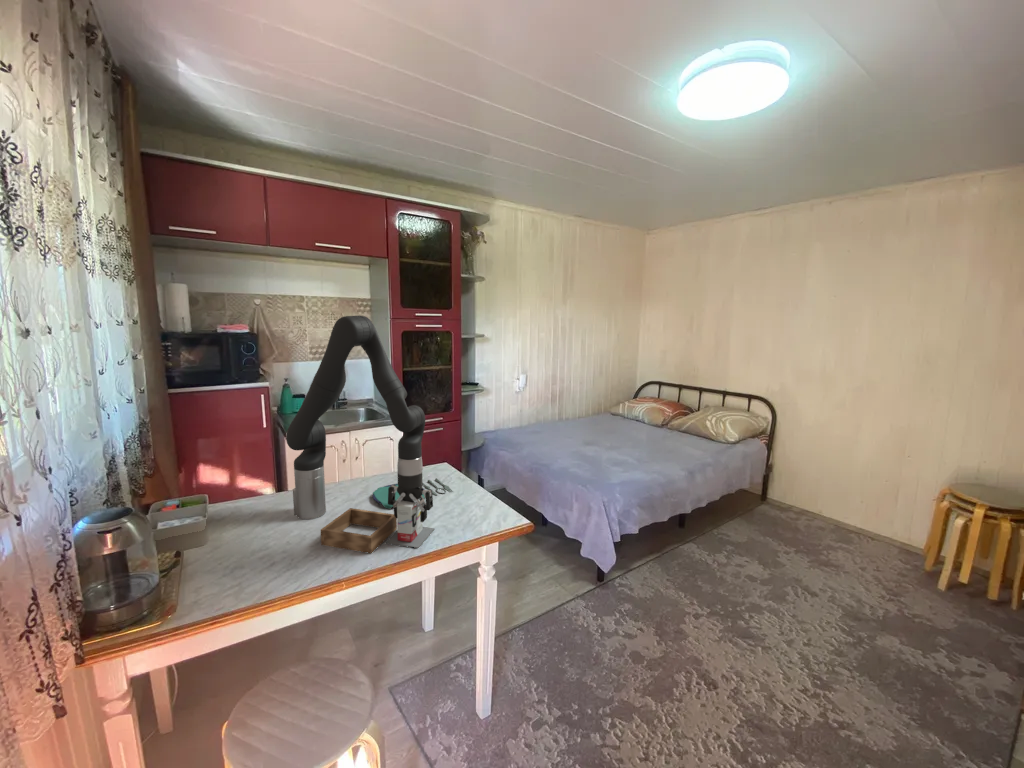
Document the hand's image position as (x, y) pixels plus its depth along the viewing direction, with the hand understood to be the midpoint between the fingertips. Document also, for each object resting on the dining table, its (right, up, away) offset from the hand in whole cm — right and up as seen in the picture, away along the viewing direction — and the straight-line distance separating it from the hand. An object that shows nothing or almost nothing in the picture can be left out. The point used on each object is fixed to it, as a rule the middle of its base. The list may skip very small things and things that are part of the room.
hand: (410, 519), depth 132 cm
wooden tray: (-16, -5, 0) cm, 17 cm away
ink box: (0, -5, +1) cm, 6 cm away
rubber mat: (0, -6, +1) cm, 6 cm away
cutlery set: (-7, -1, +32) cm, 33 cm away
